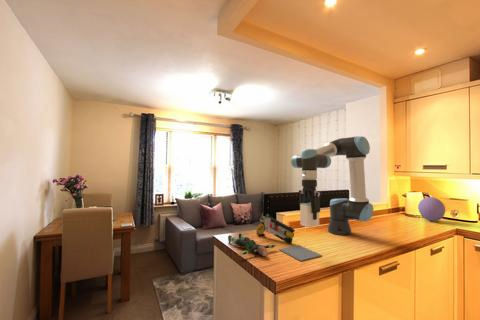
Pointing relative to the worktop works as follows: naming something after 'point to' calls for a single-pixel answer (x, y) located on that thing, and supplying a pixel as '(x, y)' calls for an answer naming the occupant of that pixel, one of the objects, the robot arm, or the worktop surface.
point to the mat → (300, 253)
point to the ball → (431, 208)
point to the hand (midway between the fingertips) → (309, 224)
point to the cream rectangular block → (307, 215)
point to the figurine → (249, 245)
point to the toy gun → (275, 229)
